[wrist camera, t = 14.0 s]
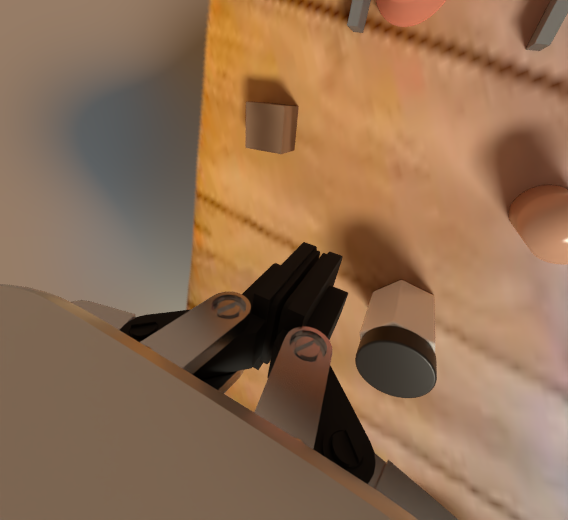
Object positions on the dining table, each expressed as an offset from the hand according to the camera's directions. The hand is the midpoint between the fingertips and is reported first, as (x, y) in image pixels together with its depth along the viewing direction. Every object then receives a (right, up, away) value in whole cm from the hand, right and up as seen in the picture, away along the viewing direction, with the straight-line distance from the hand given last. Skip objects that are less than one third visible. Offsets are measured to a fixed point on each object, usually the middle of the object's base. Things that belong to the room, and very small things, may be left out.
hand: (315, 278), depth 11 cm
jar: (+16, -6, +27) cm, 32 cm away
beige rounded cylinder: (+24, +6, +15) cm, 29 cm away
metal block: (-2, +18, +23) cm, 29 cm away
